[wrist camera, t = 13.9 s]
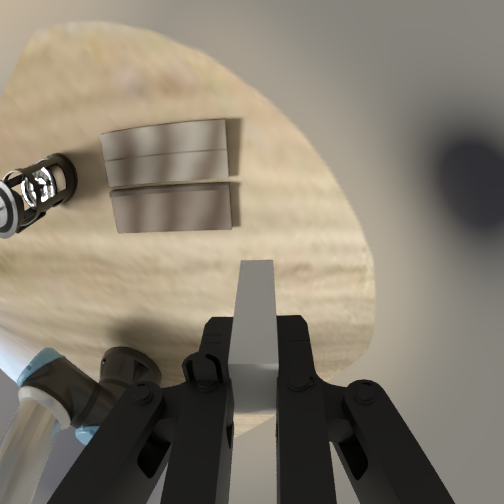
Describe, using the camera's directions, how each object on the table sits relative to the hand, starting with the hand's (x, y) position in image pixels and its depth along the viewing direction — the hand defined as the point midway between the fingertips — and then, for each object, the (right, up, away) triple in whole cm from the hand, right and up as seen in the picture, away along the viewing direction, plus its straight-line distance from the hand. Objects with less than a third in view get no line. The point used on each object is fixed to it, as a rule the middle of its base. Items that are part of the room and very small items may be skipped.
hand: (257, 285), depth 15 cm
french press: (-36, +15, +33) cm, 51 cm away
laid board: (-14, +9, +34) cm, 38 cm away
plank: (-14, +17, +30) cm, 37 cm away
